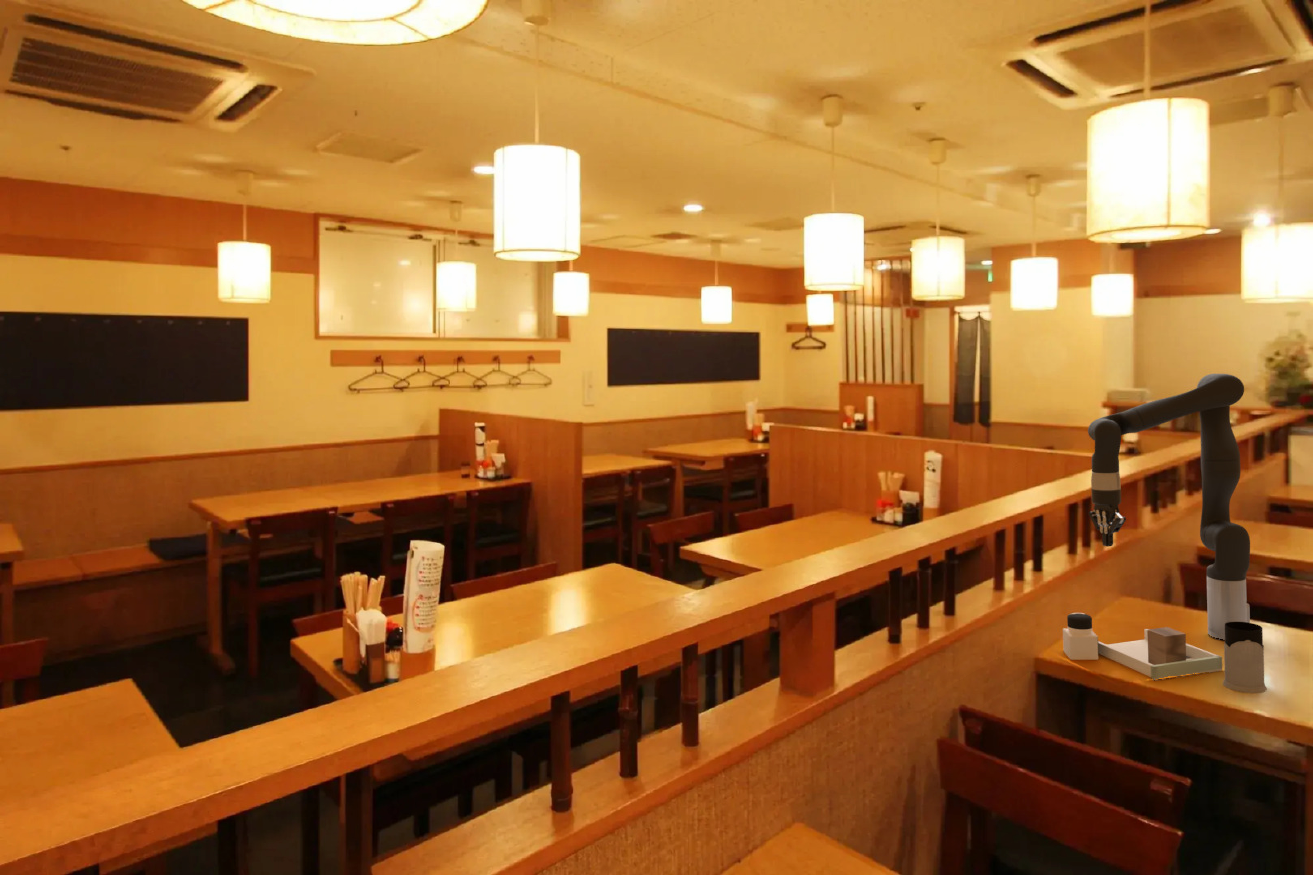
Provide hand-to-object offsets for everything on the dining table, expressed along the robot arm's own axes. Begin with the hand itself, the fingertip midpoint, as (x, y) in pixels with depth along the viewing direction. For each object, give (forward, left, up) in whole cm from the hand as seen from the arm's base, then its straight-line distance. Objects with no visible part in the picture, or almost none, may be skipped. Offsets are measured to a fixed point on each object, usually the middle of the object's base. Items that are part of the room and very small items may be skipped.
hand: (1107, 545), depth 238 cm
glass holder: (-4, +40, -27) cm, 49 cm away
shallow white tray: (+4, +20, -27) cm, 34 cm away
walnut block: (+4, +26, -26) cm, 37 cm away
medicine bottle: (+19, +12, -27) cm, 35 cm away
